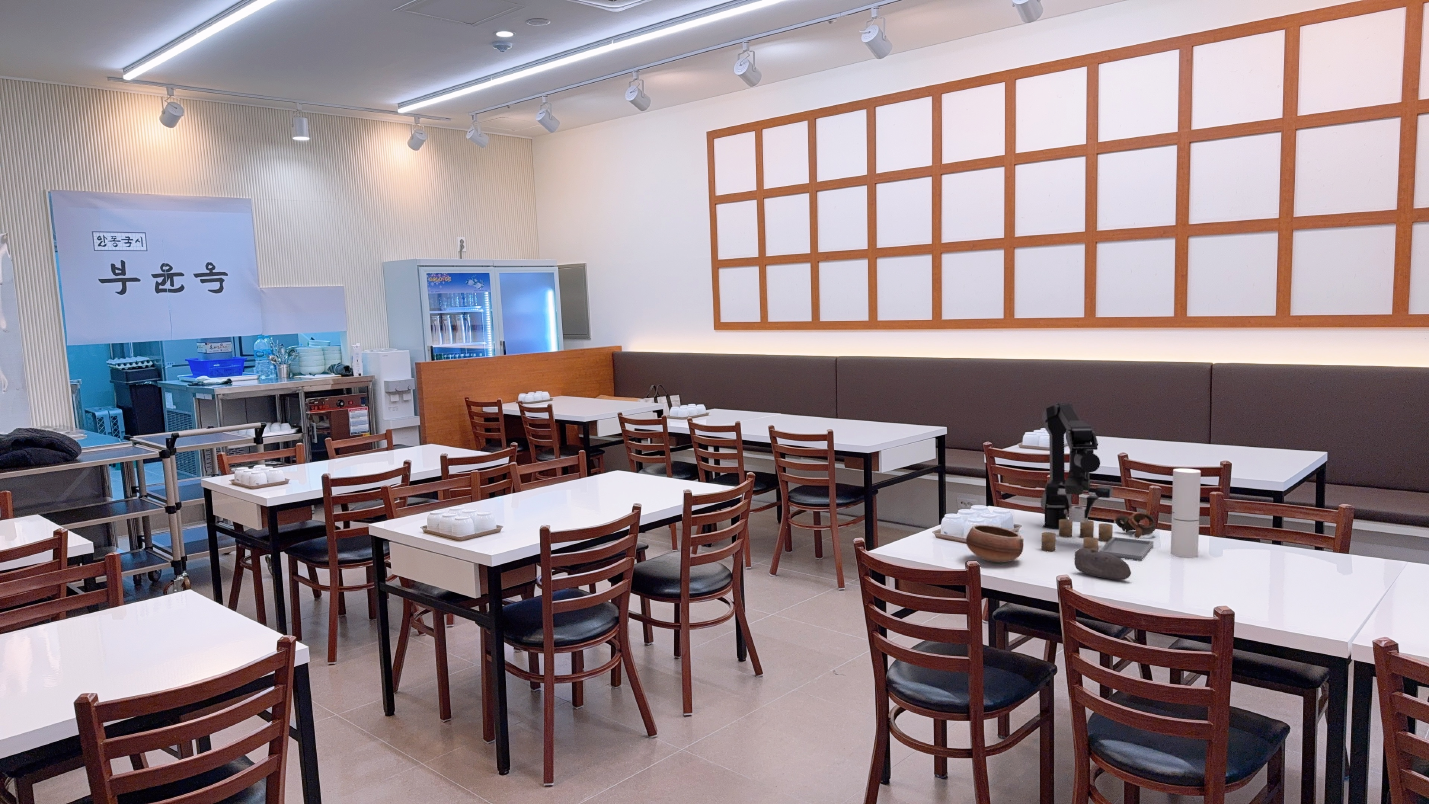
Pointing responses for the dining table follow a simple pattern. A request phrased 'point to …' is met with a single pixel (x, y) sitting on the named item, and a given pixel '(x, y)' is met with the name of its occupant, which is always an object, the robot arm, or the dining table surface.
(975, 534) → the bowl
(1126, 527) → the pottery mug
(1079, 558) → the perforated stone tool
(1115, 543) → the slate tray
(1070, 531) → the posts
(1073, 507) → the steel nut
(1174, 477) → the cylindrical container
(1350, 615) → the dining table surface
